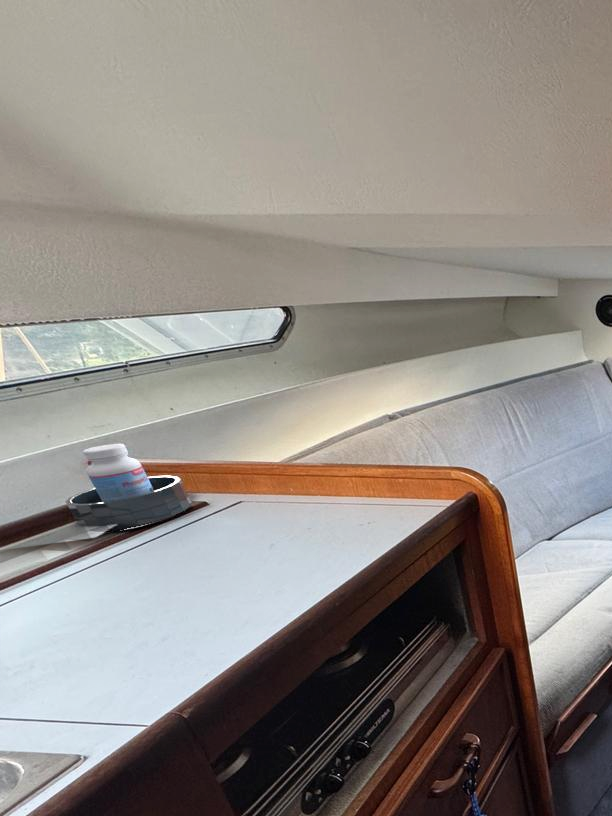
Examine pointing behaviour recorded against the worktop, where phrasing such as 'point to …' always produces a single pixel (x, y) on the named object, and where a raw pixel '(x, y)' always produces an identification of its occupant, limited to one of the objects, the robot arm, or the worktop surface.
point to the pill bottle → (116, 473)
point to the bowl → (131, 505)
